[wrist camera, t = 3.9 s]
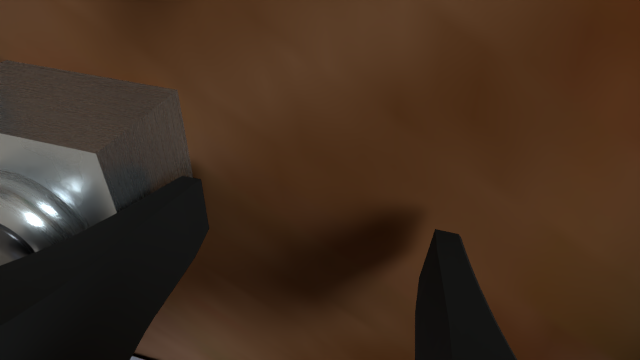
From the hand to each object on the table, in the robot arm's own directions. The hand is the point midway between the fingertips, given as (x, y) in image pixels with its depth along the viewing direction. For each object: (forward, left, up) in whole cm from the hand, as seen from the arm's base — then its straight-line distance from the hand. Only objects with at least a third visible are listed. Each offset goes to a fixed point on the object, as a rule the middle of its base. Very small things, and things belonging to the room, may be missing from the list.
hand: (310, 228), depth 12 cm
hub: (0, +8, -2) cm, 8 cm away
